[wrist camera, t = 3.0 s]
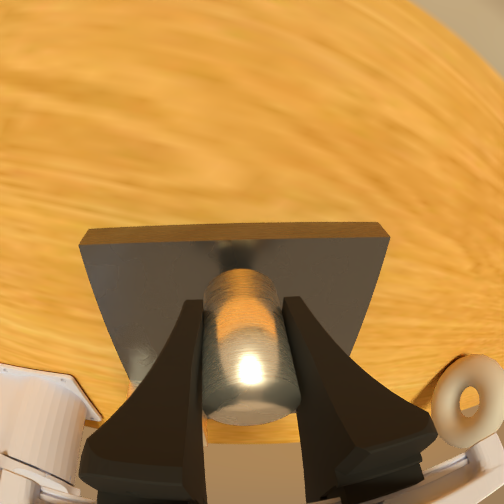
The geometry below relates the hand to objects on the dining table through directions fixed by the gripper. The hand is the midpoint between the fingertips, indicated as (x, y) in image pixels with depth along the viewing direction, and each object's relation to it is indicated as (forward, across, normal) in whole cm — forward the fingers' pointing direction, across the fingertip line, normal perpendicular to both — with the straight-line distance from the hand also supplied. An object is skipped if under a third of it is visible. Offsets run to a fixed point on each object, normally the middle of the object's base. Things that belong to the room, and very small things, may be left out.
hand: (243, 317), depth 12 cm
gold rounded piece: (+3, 0, +4) cm, 5 cm away
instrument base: (+5, 0, +7) cm, 8 cm away
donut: (+5, -23, +15) cm, 28 cm away
